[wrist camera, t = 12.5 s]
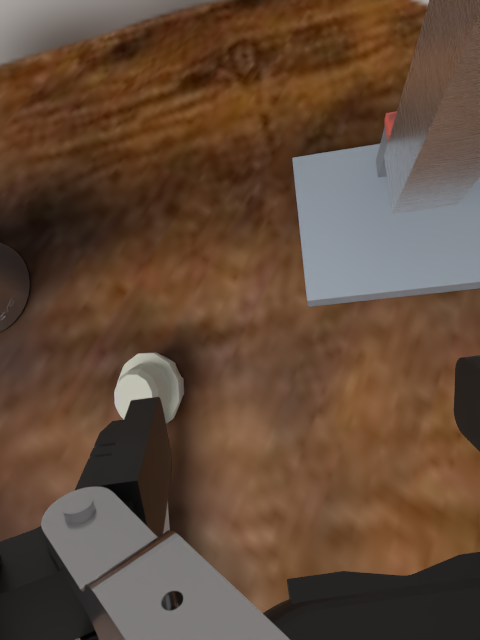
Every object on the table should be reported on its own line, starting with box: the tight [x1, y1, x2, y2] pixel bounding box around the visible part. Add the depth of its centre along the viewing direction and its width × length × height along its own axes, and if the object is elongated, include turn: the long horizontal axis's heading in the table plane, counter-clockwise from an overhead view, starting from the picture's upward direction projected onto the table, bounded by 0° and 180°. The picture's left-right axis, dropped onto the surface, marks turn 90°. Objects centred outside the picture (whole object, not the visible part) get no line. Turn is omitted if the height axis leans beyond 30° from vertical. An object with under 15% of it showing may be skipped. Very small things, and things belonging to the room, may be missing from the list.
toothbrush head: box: [114, 353, 184, 533], centre depth 36 cm, size 5×7×25 cm
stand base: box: [292, 112, 480, 307], centre depth 33 cm, size 16×12×10 cm
